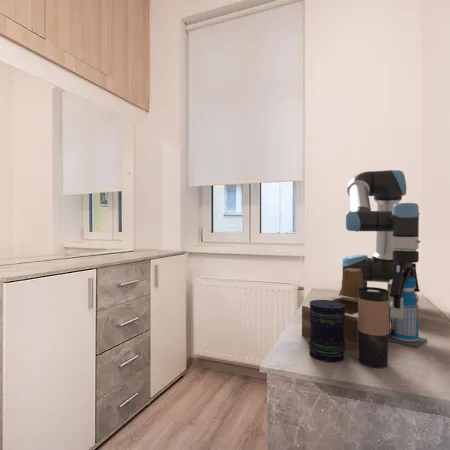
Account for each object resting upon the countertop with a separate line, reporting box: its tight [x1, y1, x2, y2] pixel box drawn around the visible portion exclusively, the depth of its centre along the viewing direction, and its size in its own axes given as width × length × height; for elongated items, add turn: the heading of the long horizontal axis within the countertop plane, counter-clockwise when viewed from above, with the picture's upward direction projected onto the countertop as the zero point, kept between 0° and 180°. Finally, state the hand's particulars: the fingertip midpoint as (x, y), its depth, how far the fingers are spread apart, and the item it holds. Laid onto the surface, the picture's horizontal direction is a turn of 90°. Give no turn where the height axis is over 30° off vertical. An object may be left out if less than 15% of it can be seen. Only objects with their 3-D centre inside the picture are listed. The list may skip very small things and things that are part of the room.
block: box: [340, 268, 363, 298], centre depth 131 cm, size 11×8×20 cm
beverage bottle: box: [389, 277, 420, 342], centre depth 105 cm, size 8×8×20 cm
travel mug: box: [358, 286, 390, 369], centre depth 87 cm, size 8×8×20 cm
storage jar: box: [308, 299, 346, 364], centre depth 91 cm, size 10×10×15 cm
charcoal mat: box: [388, 333, 428, 349], centre depth 104 cm, size 10×10×1 cm
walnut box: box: [301, 294, 391, 352], centre depth 110 cm, size 27×19×10 cm
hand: (405, 314), depth 104 cm, fingers open, 13 cm apart
